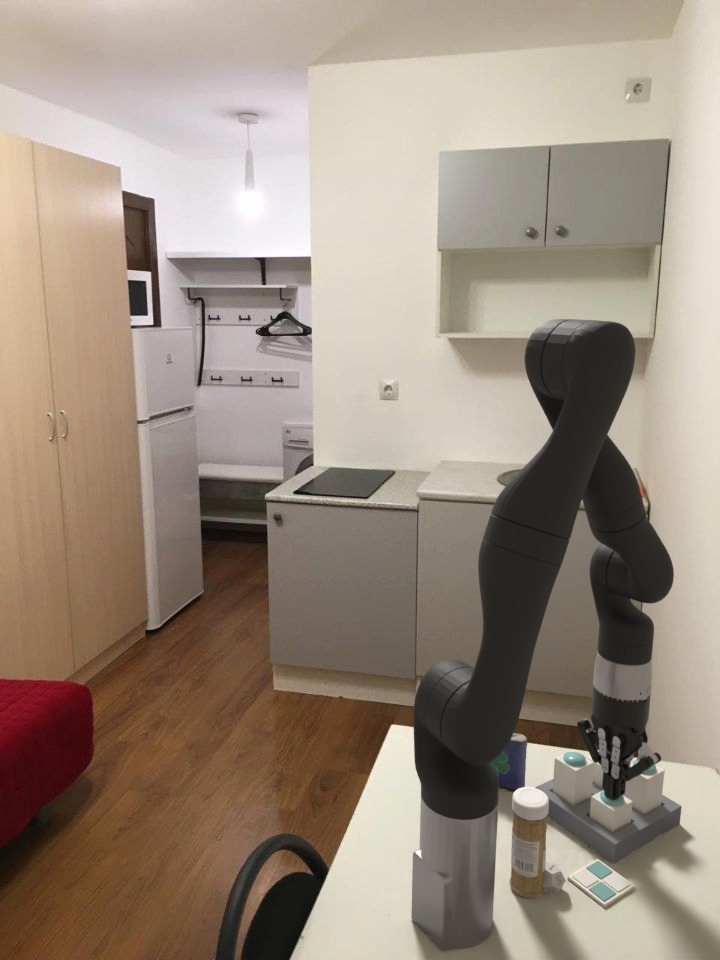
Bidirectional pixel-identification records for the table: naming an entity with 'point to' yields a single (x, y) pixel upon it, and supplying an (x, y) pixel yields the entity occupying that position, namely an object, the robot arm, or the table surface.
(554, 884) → the game die
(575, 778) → the button near left
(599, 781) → the button far left
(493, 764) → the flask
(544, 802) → the sprinkles bottle
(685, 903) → the table surface
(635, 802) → the button far right
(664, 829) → the button board
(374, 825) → the table surface
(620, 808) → the button near right
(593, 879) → the card
